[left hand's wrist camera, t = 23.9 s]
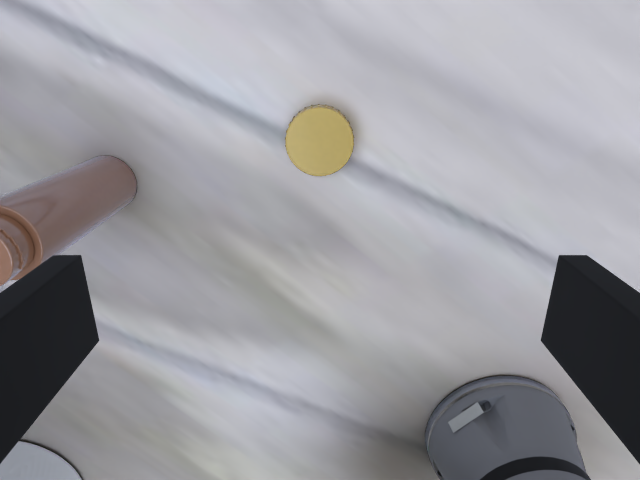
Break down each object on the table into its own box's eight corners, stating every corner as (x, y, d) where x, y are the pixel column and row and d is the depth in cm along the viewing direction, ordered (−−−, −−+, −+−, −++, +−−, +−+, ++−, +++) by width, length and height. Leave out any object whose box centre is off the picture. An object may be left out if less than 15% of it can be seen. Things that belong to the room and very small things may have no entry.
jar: (147, 177, 38) (36, 250, 23) (120, 218, 40) (-1, 312, 25) (98, 144, 37) (-52, 197, 22) (72, 187, 39) (-85, 264, 24)
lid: (288, 101, 36) (286, 103, 34) (356, 107, 36) (358, 109, 34) (284, 168, 38) (282, 174, 36) (348, 173, 38) (350, 179, 36)
